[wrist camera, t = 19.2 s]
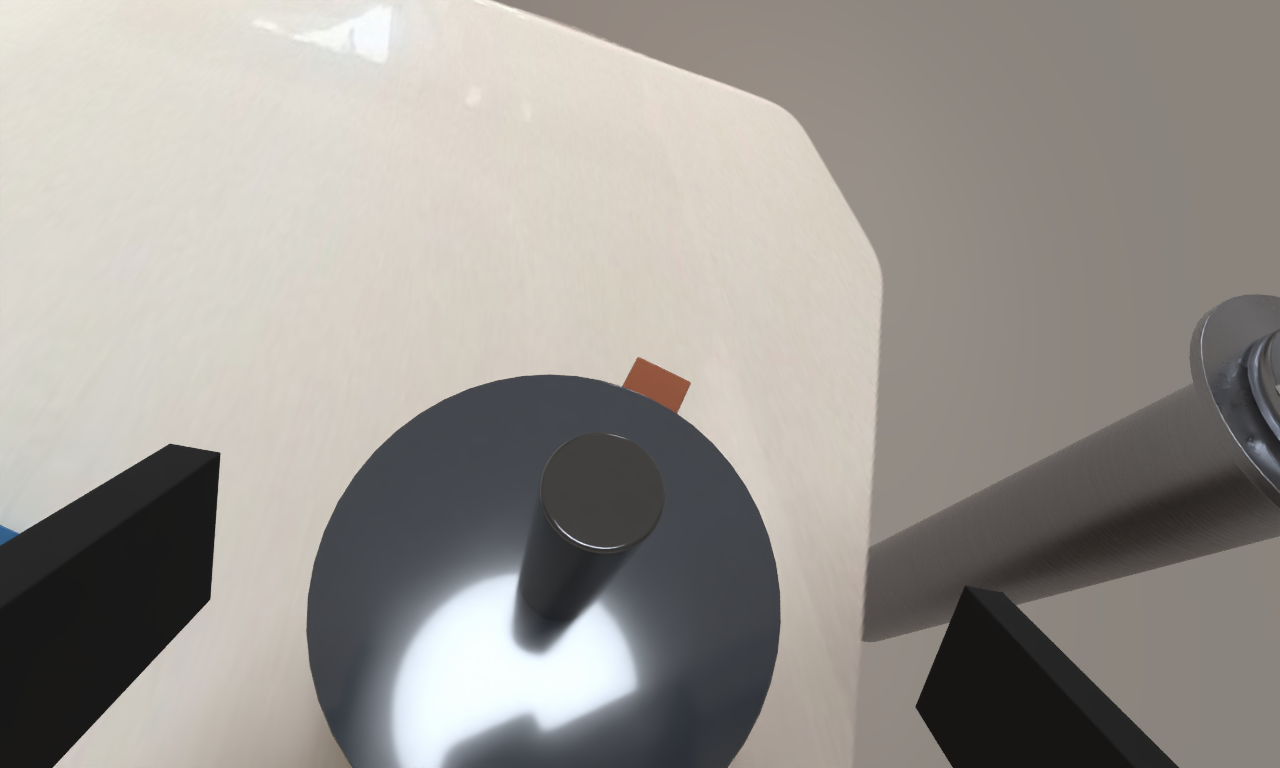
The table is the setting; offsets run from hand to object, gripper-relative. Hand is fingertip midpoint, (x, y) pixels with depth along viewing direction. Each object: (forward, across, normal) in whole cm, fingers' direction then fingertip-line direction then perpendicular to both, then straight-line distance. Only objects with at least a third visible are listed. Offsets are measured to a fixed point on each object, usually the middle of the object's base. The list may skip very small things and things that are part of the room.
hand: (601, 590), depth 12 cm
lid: (+9, 0, -6) cm, 10 cm away
